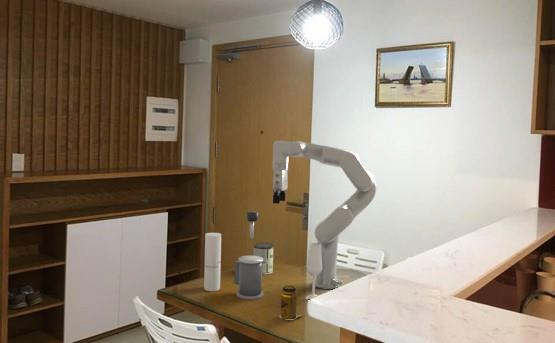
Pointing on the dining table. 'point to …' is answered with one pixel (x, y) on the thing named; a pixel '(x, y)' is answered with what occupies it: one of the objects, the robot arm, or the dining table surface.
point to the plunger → (252, 221)
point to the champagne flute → (314, 264)
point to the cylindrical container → (212, 261)
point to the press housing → (249, 277)
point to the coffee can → (265, 256)
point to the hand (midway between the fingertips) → (279, 202)
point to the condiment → (288, 302)
